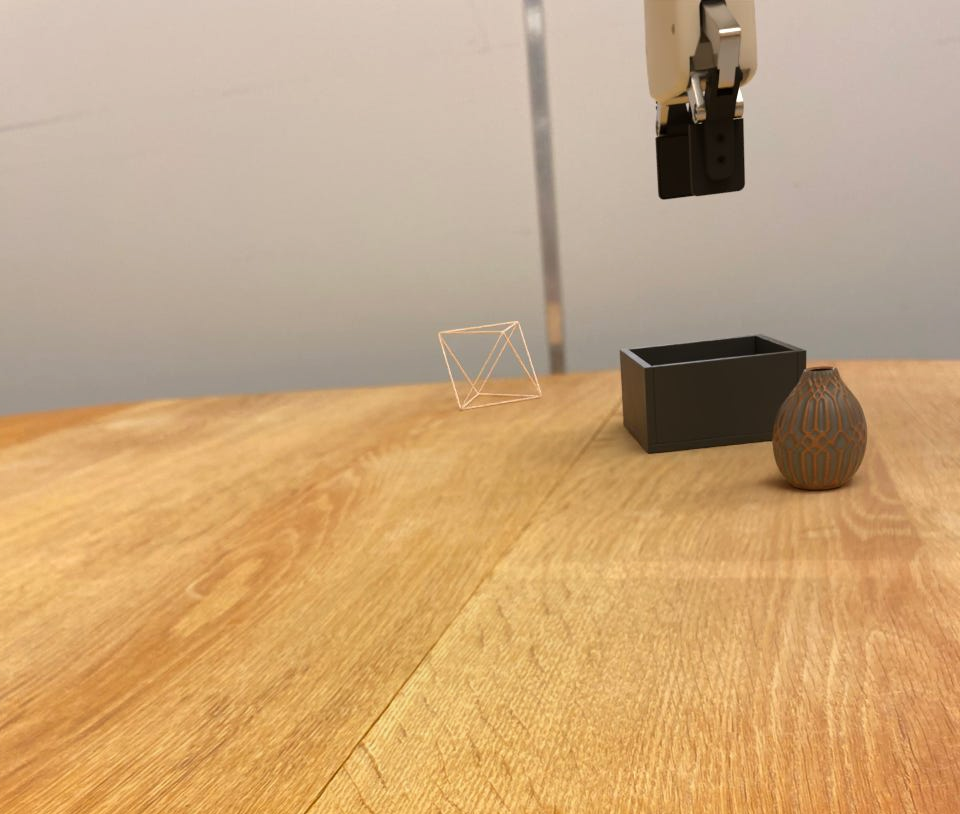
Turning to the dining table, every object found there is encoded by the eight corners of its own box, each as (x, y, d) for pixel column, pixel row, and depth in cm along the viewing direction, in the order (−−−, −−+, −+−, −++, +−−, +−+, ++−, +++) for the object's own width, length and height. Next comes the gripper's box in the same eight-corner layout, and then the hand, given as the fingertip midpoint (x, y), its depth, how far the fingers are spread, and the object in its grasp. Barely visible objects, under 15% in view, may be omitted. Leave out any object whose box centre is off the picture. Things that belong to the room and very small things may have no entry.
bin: (761, 410, 112) (761, 334, 109) (805, 436, 98) (806, 350, 95) (623, 425, 112) (619, 349, 109) (648, 453, 98) (644, 367, 95)
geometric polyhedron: (439, 401, 139) (430, 330, 136) (517, 388, 142) (510, 318, 138) (467, 414, 128) (458, 337, 124) (551, 400, 131) (545, 324, 127)
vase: (867, 494, 78) (871, 373, 75) (770, 496, 80) (770, 379, 77) (863, 471, 84) (867, 358, 81) (773, 474, 87) (774, 364, 83)
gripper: (796, -173, 55) (799, 183, 61) (712, -83, 71) (721, 192, 77) (653, -155, 55) (670, 200, 61) (601, -69, 71) (619, 205, 77)
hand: (698, 195), depth 69 cm, fingers open, 9 cm apart
